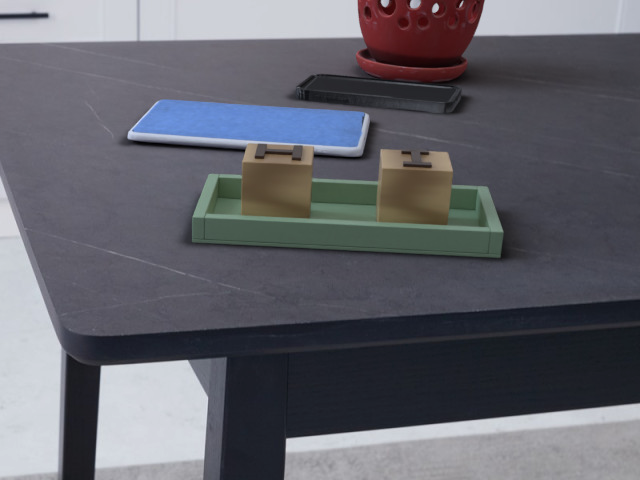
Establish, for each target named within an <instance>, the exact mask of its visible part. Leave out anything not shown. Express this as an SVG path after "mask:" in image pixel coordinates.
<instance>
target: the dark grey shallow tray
mask: <svg viewBox="0 0 640 480" xmlns="http://www.w3.org/2000/svg"><path fill="white" fill-rule="evenodd" d="M462 92H463V87H461V86H459V85H453V84H444V83H443V84H442V83H421V82H410V81H399V80H387V79H381V78H377V77H365V76H364V77H363V76H352V75H340V74H330V73H314V74H311V75H309V76H308V77H307V78H306V79H304V80H302V82H300V83H299V84H298V85H296V87H295V98H296V99H297V100H300V101H306V102H315V103H327V104H336V105H337V104H338V105H346V106H347V105H349V106H358V107H368V108H381V109H390V110H401V111H411V112H422V113H432V114H450V113H453V111H454V110H455V108H456V107H457V105H458V104H459V102H460V101H461V99H462Z"/></svg>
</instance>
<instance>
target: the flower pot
mask: <svg viewBox="0 0 640 480" xmlns="http://www.w3.org/2000/svg"><path fill="white" fill-rule="evenodd" d="M485 1H486V0H420V3H419V5H418V6H417V7H411V2H412V0H388V3H387V5H386V6H384V5H383V4H382V0H357V14H358V15H357V17H358V23H359V28H360V33H361V35H362V38H363V41H364V44H365V46H366V47H365V48H362V49H359V50H358V51H357V52H356V54H355V58H356V62H357V64H358V67H360V69H362V71H364V72H365V73H366V74H368V75H369V76H372V77H373V78H376V79H387V80H399V81H410V82H421V83H432V84H437V83H446V82H450V81H452V80H455V79H457V78H460V76H461V75H463V73H464V72H465V71H466V70H467V68H468V63H469V62H468V59H467V58H465V57H464V56H463V54H464V53H465V51H466V50H467V49H468V47H469V45H471V42H472V41H473V38H474V36H475V34H476V32H477V29H478V27H479V24H480V21H481V18H482V14H483V11H484V5H485ZM436 4H437V6H438V8H437V11H434V12H433V8H434V6H435V5H436Z"/></svg>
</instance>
